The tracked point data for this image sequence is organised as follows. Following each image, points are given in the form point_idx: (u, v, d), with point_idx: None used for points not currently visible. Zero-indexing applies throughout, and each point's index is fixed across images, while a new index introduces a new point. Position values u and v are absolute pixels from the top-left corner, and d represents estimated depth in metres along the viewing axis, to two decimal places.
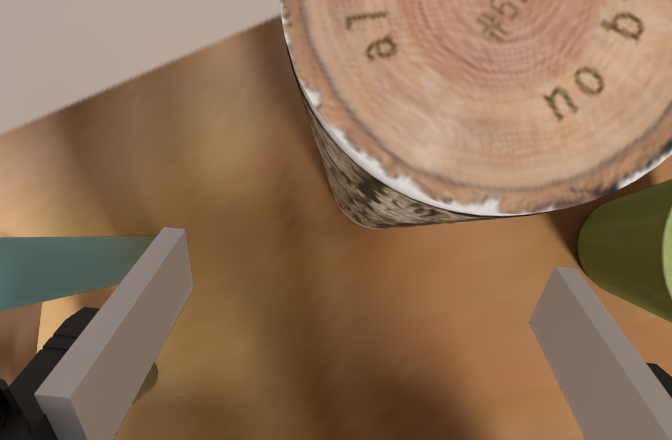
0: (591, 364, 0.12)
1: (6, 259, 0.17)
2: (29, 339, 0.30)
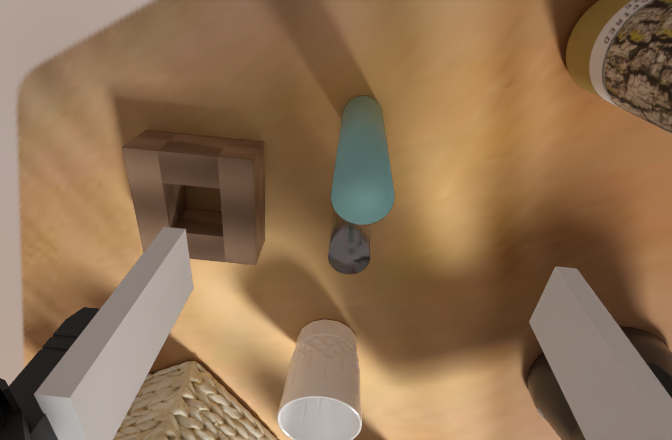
0: (591, 365, 0.12)
1: (378, 185, 0.20)
2: (262, 188, 0.35)
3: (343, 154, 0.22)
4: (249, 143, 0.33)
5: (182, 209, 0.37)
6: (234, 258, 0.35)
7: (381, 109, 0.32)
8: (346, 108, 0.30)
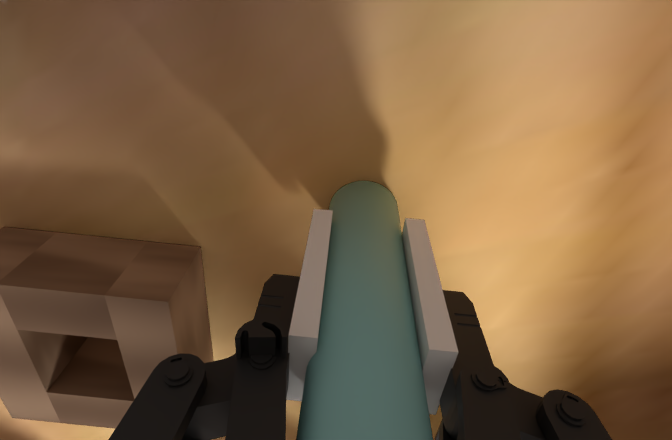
0: None
1: None
2: (202, 315, 0.22)
3: (316, 426, 0.09)
4: (174, 251, 0.20)
5: (78, 342, 0.23)
6: None
7: (396, 204, 0.18)
8: (334, 208, 0.17)
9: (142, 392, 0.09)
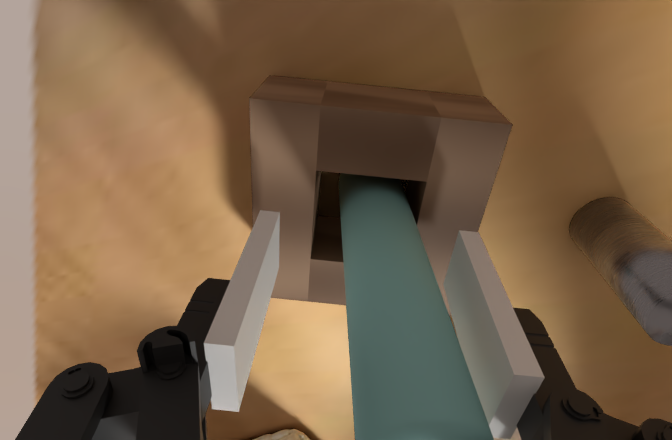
0: (473, 311, 0.13)
1: None
2: None
3: (370, 331, 0.11)
4: (464, 98, 0.18)
5: (316, 218, 0.21)
6: None
7: None
8: (347, 179, 0.19)
9: (36, 410, 0.08)
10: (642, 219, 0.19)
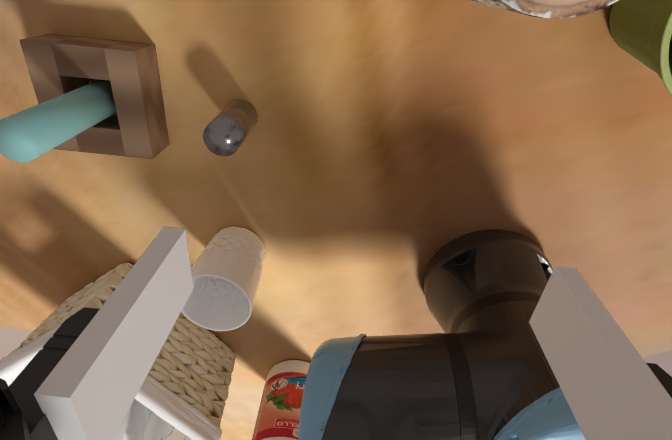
0: (591, 365, 0.12)
1: (20, 132, 0.28)
2: (157, 88, 0.39)
3: None
4: (140, 44, 0.38)
5: None
6: (133, 152, 0.40)
7: None
8: None
9: None
10: (237, 105, 0.39)
